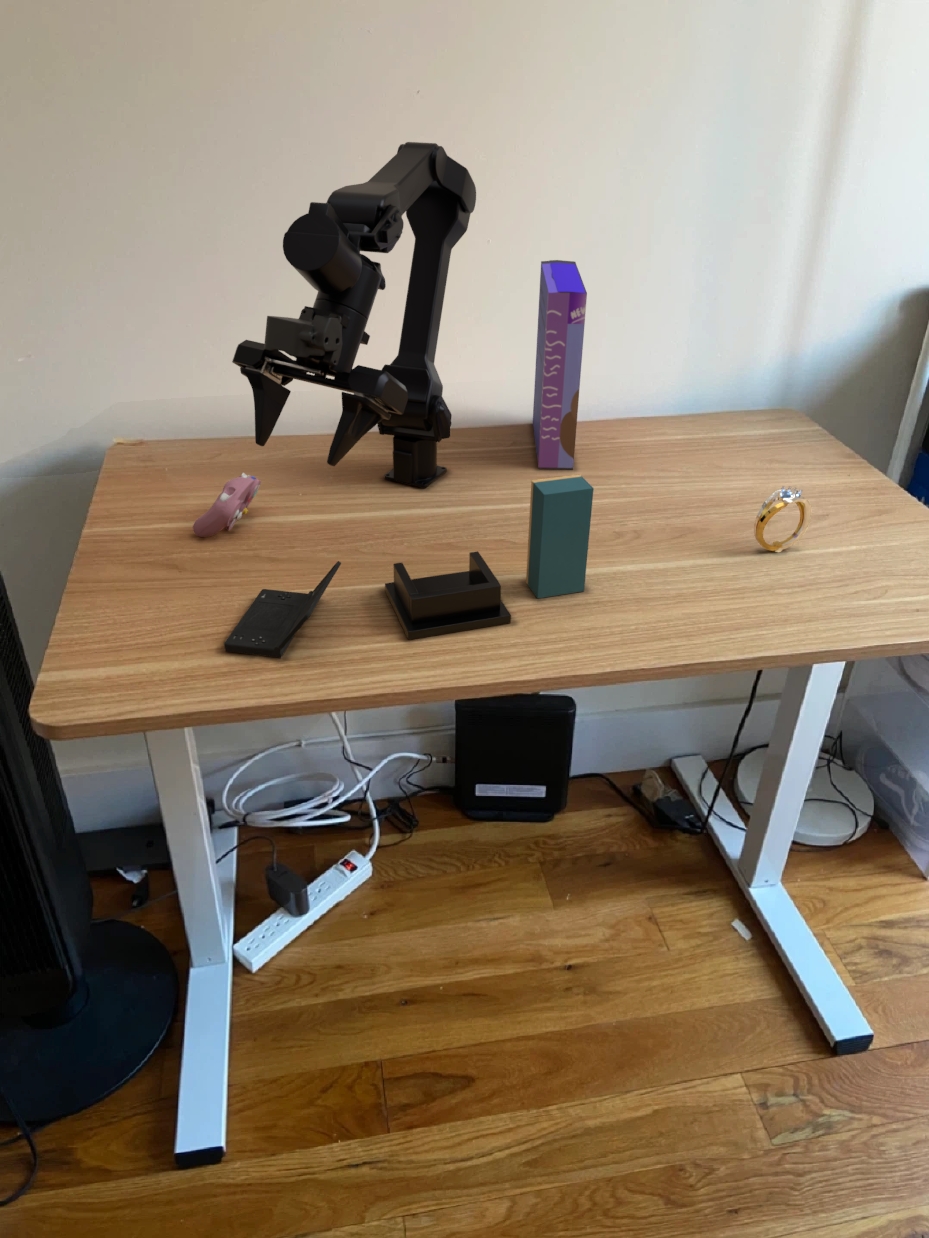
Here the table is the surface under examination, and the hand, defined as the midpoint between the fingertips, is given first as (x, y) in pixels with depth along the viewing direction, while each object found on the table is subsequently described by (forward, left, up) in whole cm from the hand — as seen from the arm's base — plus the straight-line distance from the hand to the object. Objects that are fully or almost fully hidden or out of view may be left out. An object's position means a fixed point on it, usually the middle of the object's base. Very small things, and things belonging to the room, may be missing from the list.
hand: (294, 455), depth 99 cm
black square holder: (-2, +17, -14) cm, 22 cm away
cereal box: (-48, +10, -15) cm, 51 cm away
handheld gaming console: (+10, +5, -15) cm, 18 cm away
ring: (-31, +46, -15) cm, 57 cm away
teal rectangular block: (-11, +26, -14) cm, 31 cm away
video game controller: (-6, -15, -15) cm, 22 cm away
